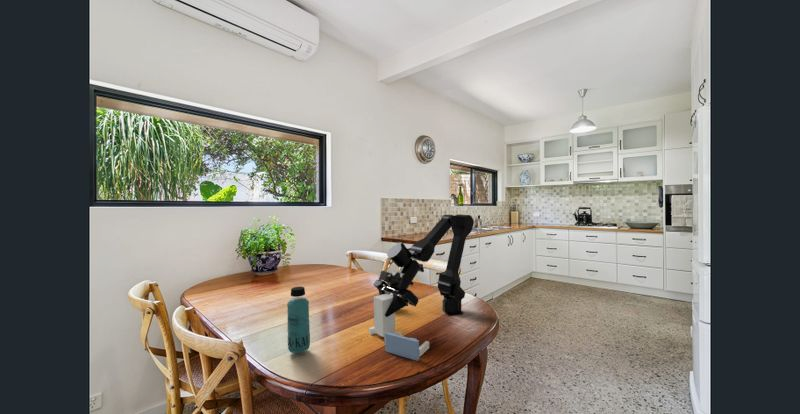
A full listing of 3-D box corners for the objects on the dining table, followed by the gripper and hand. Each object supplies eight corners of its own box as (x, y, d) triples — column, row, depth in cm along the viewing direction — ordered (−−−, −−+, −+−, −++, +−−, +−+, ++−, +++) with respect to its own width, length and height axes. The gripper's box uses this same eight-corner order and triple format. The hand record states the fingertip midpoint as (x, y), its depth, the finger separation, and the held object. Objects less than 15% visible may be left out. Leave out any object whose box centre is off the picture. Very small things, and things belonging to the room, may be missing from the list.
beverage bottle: (290, 348, 101) (288, 284, 100) (312, 347, 101) (310, 284, 100) (285, 359, 94) (283, 291, 93) (308, 357, 95) (306, 290, 94)
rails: (383, 329, 114) (383, 323, 114) (401, 338, 106) (401, 332, 106) (369, 333, 110) (369, 328, 110) (386, 344, 102) (386, 338, 102)
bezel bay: (400, 340, 105) (399, 323, 105) (430, 348, 99) (430, 330, 99) (385, 351, 98) (385, 333, 97) (417, 360, 92) (417, 342, 92)
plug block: (386, 327, 111) (385, 293, 111) (395, 332, 107) (394, 297, 107) (374, 332, 108) (373, 296, 108) (383, 337, 104) (382, 300, 104)
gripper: (377, 257, 116) (351, 293, 110) (410, 266, 102) (383, 309, 95) (394, 274, 122) (371, 310, 115) (429, 285, 107) (404, 327, 101)
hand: (381, 314), depth 107 cm, fingers closed on plug block, 5 cm apart
